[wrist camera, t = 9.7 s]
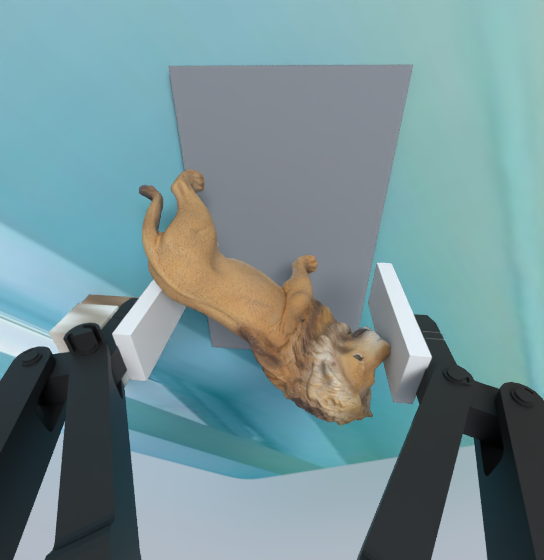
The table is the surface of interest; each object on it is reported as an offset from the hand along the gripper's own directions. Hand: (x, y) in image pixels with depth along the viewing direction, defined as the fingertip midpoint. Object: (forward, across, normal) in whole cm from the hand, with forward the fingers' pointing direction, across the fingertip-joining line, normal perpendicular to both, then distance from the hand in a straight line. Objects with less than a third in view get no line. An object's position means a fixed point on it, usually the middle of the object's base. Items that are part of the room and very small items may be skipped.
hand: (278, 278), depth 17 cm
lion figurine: (+2, -1, +1) cm, 3 cm away
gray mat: (+4, 0, 0) cm, 4 cm away
